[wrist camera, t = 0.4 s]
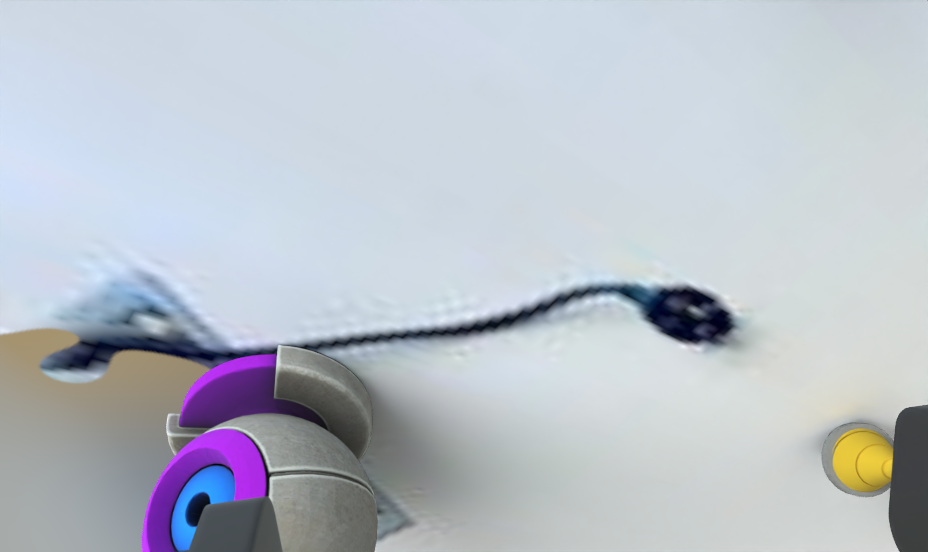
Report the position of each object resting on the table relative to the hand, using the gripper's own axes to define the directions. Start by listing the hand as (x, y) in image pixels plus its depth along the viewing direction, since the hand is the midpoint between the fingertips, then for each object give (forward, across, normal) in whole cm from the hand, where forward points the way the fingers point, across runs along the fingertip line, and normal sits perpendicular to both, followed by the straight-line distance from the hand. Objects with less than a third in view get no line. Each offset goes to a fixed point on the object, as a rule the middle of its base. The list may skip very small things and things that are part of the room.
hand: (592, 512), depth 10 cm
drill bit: (+43, -29, +27) cm, 59 cm away
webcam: (+40, +12, +18) cm, 46 cm away
